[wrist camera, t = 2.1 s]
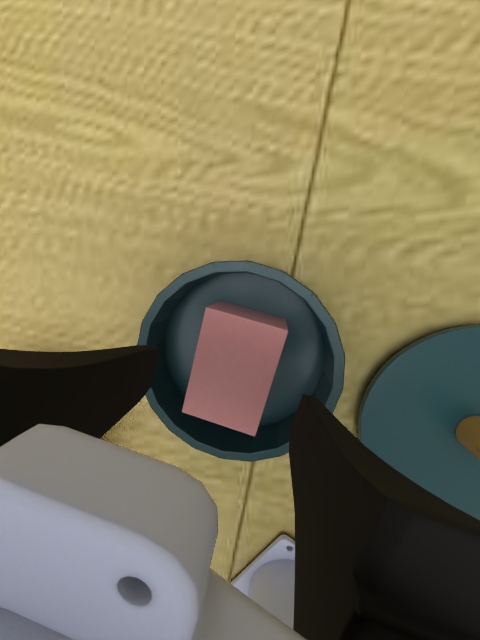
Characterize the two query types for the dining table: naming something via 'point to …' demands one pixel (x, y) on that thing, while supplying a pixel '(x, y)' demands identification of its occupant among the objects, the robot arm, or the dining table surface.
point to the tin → (292, 371)
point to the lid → (430, 415)
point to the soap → (234, 366)
